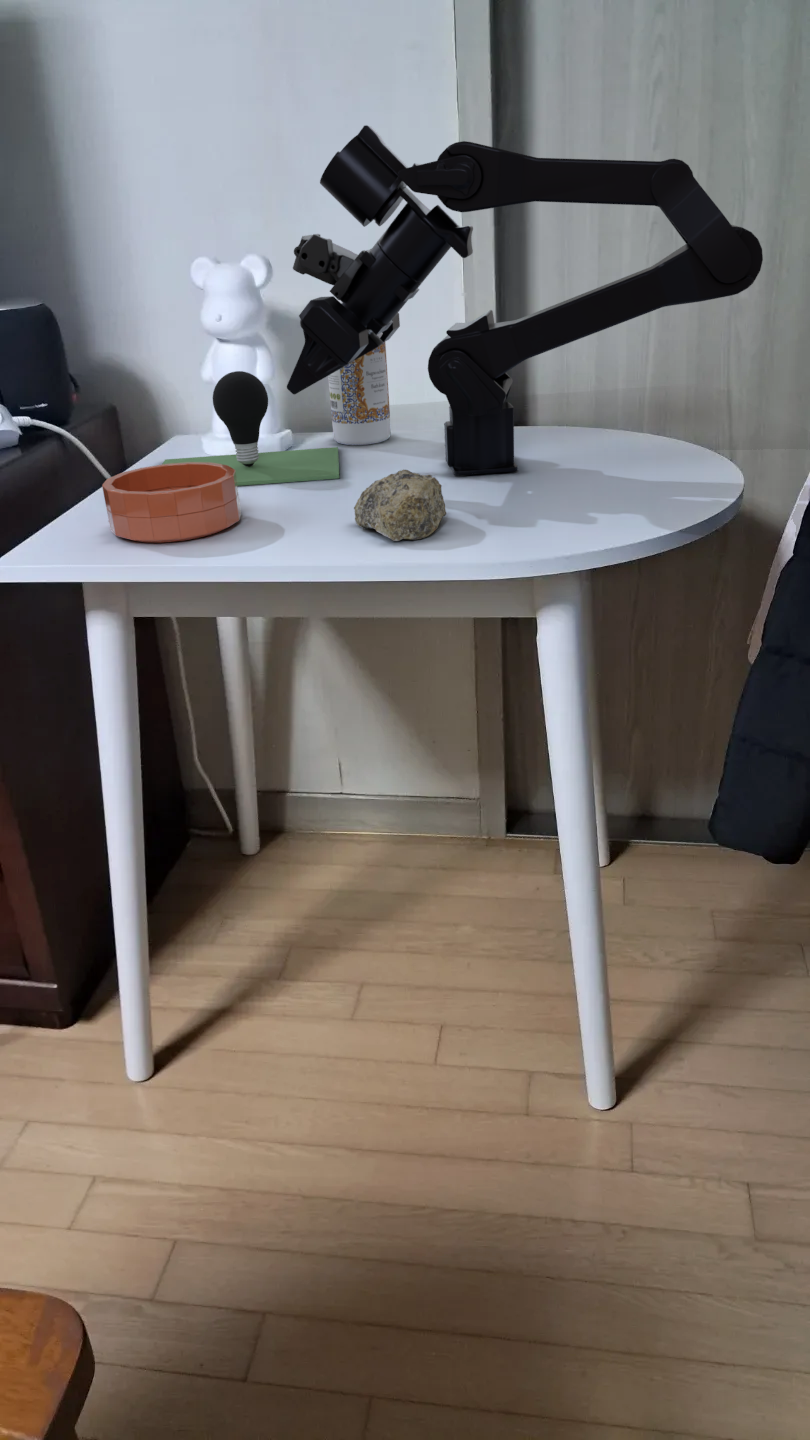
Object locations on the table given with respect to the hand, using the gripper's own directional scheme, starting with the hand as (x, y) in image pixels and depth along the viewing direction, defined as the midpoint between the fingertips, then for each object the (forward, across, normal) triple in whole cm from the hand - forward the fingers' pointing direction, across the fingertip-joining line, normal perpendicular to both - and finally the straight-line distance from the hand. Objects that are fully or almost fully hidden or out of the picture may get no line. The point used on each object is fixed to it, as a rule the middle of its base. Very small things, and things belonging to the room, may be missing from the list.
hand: (303, 383), depth 107 cm
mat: (+12, 0, +1) cm, 12 cm away
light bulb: (+11, 0, +1) cm, 11 cm away
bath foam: (+5, -15, +8) cm, 18 cm away
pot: (+11, +22, +2) cm, 24 cm away
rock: (-4, +22, +17) cm, 28 cm away
